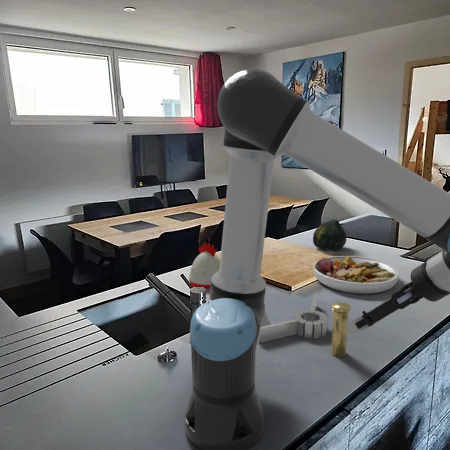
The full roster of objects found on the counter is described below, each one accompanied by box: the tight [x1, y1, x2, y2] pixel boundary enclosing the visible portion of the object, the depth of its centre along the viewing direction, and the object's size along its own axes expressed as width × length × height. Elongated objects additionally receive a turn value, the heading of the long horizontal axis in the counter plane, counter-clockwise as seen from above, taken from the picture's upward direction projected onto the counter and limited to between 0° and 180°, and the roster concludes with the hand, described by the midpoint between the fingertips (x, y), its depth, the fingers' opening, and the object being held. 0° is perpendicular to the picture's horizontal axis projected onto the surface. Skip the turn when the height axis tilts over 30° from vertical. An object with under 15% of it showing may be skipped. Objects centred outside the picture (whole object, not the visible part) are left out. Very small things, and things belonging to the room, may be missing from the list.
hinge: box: [257, 293, 329, 344], centre depth 115 cm, size 27×18×4 cm, turn 163°
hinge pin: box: [330, 301, 352, 358], centre depth 99 cm, size 4×4×13 cm
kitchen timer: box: [188, 242, 221, 290], centre depth 147 cm, size 14×14×15 cm
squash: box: [312, 219, 347, 251], centre depth 186 cm, size 14×15×15 cm
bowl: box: [312, 255, 400, 295], centre depth 147 cm, size 30×30×8 cm
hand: (364, 320), depth 94 cm, fingers open, 13 cm apart
